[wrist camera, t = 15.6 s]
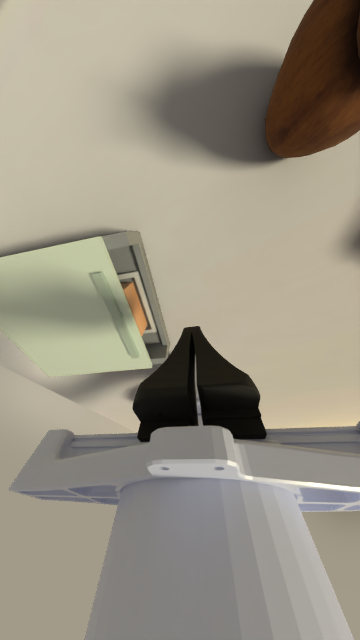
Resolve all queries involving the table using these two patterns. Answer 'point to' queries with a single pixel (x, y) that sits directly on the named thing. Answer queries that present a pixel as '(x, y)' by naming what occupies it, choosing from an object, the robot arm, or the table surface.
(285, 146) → the wooden figurine
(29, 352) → the lid
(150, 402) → the robot arm
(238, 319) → the table surface
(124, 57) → the table surface
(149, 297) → the housing
